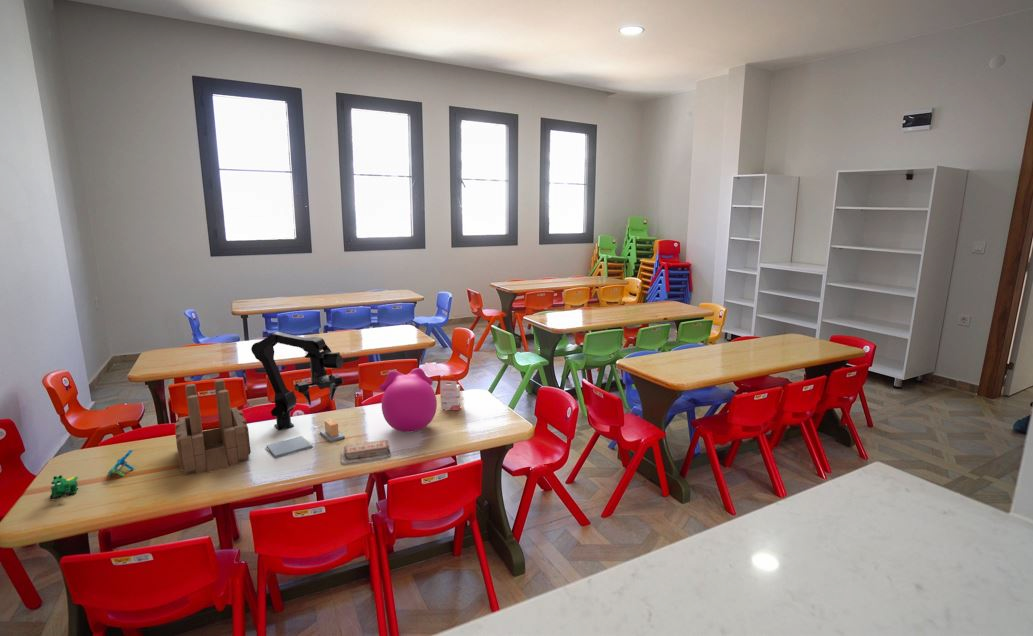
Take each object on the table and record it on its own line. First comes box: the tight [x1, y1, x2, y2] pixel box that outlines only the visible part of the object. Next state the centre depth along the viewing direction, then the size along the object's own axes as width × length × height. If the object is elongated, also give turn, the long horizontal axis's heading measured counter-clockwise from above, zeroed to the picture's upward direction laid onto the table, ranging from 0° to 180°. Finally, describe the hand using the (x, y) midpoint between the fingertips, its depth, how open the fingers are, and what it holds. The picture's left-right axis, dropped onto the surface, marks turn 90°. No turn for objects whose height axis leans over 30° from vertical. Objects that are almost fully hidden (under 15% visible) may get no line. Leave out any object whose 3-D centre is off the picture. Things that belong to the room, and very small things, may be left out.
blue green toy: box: [107, 449, 135, 477], centre depth 188 cm, size 11×6×10 cm
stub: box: [319, 418, 346, 443], centre depth 217 cm, size 12×6×6 cm, turn 40°
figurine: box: [378, 367, 438, 433], centre depth 221 cm, size 23×24×25 cm
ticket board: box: [265, 435, 313, 459], centre depth 206 cm, size 12×14×1 cm
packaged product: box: [340, 439, 391, 465], centre depth 199 cm, size 18×5×10 cm
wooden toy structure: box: [174, 378, 252, 476], centre depth 198 cm, size 23×30×27 cm
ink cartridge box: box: [439, 380, 462, 411], centre depth 245 cm, size 9×5×15 cm, turn 80°
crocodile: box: [49, 474, 79, 500], centre depth 174 cm, size 20×6×9 cm, turn 30°
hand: (320, 402), depth 222 cm, fingers open, 9 cm apart
